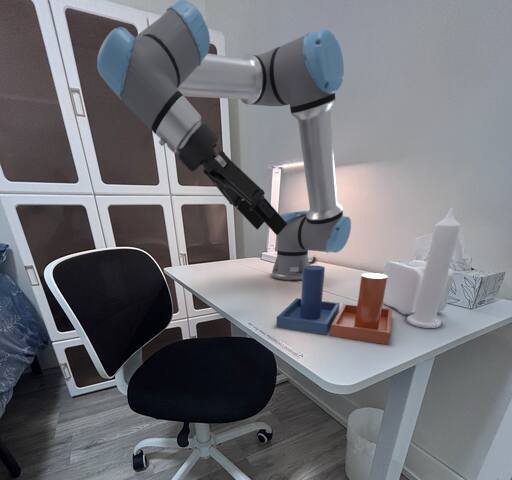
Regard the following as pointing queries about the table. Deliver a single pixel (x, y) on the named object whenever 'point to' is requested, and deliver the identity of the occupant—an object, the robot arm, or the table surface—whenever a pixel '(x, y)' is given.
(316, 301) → the blue pillar
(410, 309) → the cable organizer
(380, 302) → the terracotta pillar
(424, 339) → the table surface
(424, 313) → the candle
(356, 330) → the terracotta tray
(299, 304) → the blue tray
